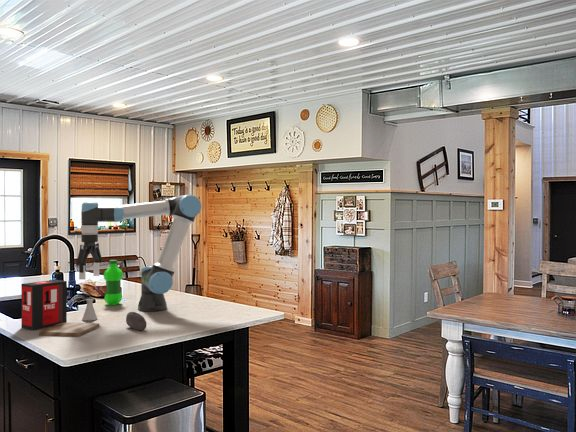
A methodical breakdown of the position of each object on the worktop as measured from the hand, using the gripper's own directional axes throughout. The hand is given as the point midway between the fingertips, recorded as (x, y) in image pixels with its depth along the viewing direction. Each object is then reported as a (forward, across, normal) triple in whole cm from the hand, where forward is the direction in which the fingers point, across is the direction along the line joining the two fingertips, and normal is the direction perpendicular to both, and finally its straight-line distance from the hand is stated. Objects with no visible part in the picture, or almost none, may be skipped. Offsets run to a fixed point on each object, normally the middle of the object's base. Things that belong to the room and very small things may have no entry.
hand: (89, 277), depth 245 cm
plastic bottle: (+21, -40, -7) cm, 46 cm away
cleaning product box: (+21, +15, -14) cm, 29 cm away
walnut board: (+20, +23, +3) cm, 31 cm away
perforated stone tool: (+21, +16, +31) cm, 41 cm away
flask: (+21, 0, 0) cm, 21 cm away
